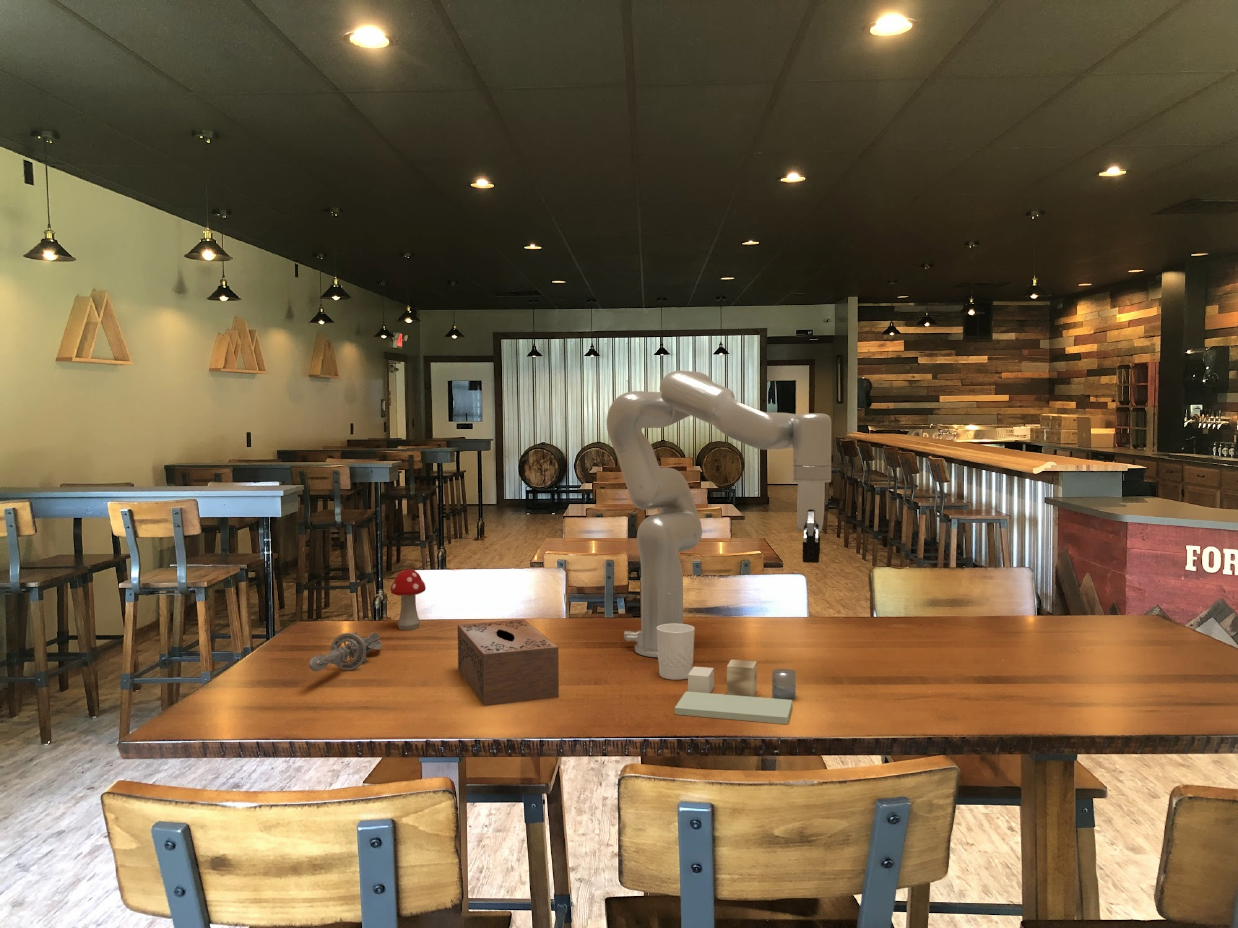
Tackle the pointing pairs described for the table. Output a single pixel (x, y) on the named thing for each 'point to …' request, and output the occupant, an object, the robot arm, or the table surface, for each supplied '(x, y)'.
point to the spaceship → (346, 652)
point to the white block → (701, 680)
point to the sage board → (734, 707)
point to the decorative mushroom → (408, 597)
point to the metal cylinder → (784, 684)
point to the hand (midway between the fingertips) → (811, 558)
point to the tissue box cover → (508, 662)
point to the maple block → (742, 678)
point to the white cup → (675, 650)
